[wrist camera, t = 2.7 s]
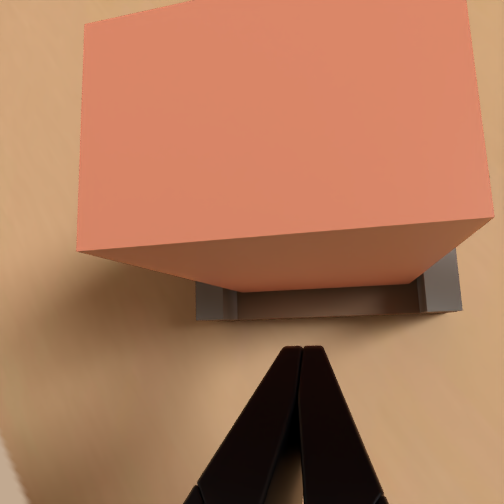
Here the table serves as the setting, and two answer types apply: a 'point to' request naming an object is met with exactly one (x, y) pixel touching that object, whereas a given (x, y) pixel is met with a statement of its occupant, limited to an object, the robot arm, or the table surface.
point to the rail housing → (338, 298)
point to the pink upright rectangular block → (282, 141)
